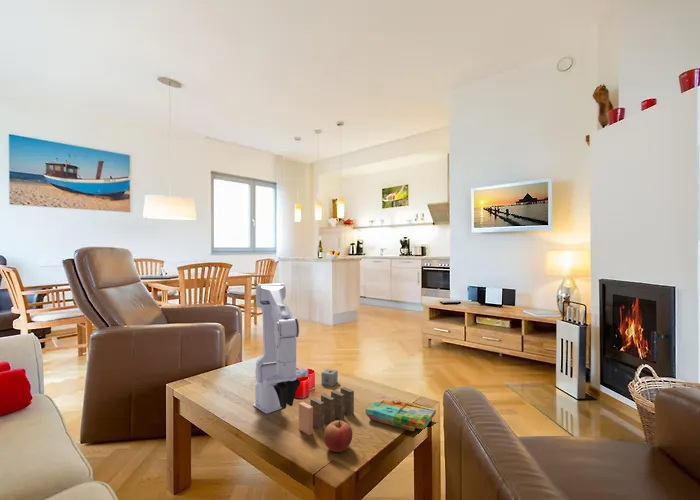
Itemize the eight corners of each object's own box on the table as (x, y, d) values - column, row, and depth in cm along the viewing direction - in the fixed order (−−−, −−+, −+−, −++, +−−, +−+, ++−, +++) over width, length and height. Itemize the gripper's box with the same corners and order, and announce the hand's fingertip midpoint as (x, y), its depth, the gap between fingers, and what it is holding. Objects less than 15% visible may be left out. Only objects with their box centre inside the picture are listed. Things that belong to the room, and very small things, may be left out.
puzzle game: (381, 394, 123) (436, 406, 113) (381, 407, 123) (436, 421, 112) (365, 406, 113) (424, 422, 102) (365, 421, 113) (424, 437, 102)
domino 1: (308, 435, 103) (308, 408, 103) (298, 429, 107) (298, 403, 107) (312, 433, 104) (312, 406, 105) (303, 427, 108) (303, 401, 108)
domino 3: (330, 424, 109) (330, 399, 110) (320, 419, 113) (320, 395, 113) (334, 423, 111) (334, 398, 111) (324, 417, 114) (324, 393, 114)
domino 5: (350, 415, 116) (350, 392, 116) (340, 410, 119) (340, 387, 119) (353, 414, 117) (353, 390, 117) (343, 409, 120) (343, 386, 120)
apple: (355, 442, 99) (355, 415, 99) (348, 458, 91) (348, 428, 91) (329, 439, 101) (329, 412, 101) (320, 454, 93) (320, 425, 93)
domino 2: (320, 429, 106) (320, 404, 106) (310, 424, 110) (310, 399, 110) (324, 428, 108) (324, 402, 108) (314, 422, 111) (314, 397, 111)
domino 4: (340, 420, 113) (340, 395, 113) (330, 415, 116) (331, 391, 116) (344, 418, 114) (344, 394, 114) (334, 413, 117) (334, 390, 117)
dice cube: (331, 386, 141) (331, 374, 141) (321, 384, 143) (321, 372, 143) (337, 382, 146) (337, 370, 146) (327, 380, 148) (327, 369, 148)
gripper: (272, 368, 93) (272, 418, 93) (314, 357, 103) (314, 402, 103) (259, 362, 98) (258, 410, 98) (300, 352, 108) (300, 395, 108)
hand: (286, 406), depth 101 cm, fingers closed
